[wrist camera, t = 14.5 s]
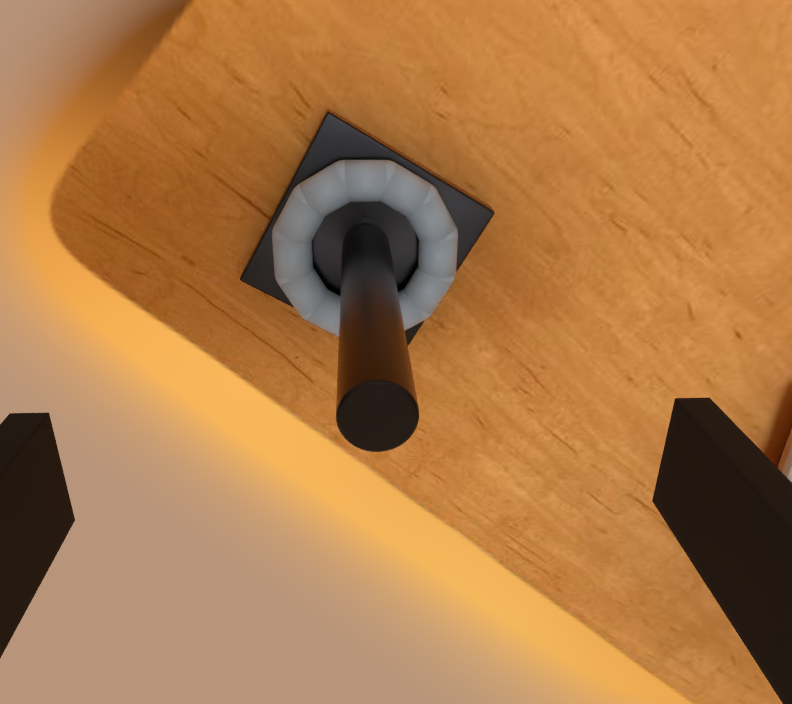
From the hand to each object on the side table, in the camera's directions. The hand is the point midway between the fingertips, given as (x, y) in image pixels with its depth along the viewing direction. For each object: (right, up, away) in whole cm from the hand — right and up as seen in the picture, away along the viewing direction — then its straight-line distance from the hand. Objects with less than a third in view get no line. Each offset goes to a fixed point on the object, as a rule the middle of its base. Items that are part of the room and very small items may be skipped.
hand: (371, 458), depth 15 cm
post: (-1, +7, +15) cm, 17 cm away
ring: (-1, +6, +14) cm, 15 cm away
